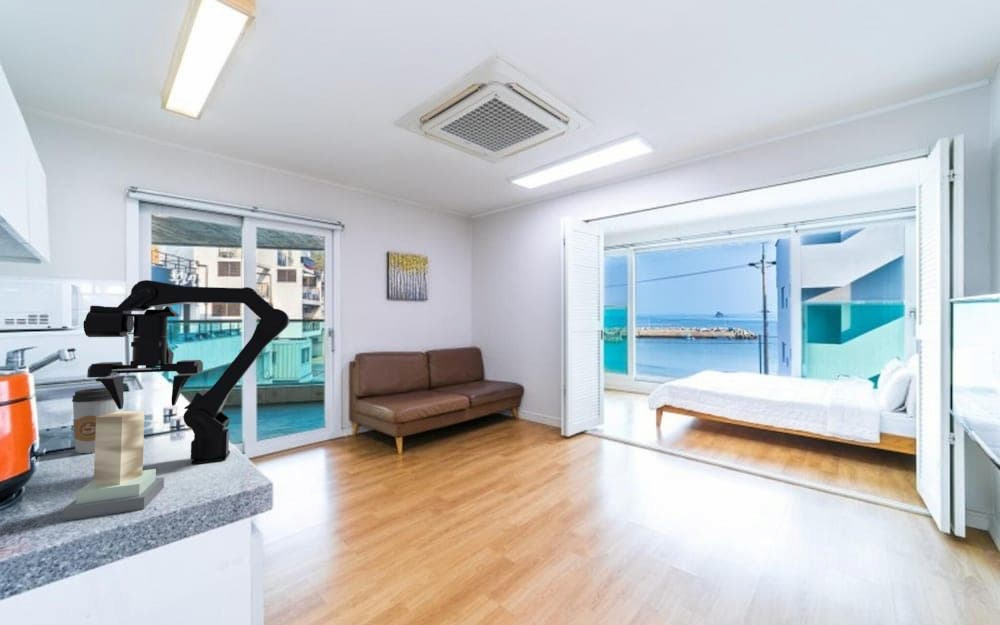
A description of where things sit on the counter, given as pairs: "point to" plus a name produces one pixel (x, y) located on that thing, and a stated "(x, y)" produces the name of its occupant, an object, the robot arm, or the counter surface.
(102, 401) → the coffee cup
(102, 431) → the pillar
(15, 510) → the counter surface
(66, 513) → the tower base
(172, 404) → the robot arm
